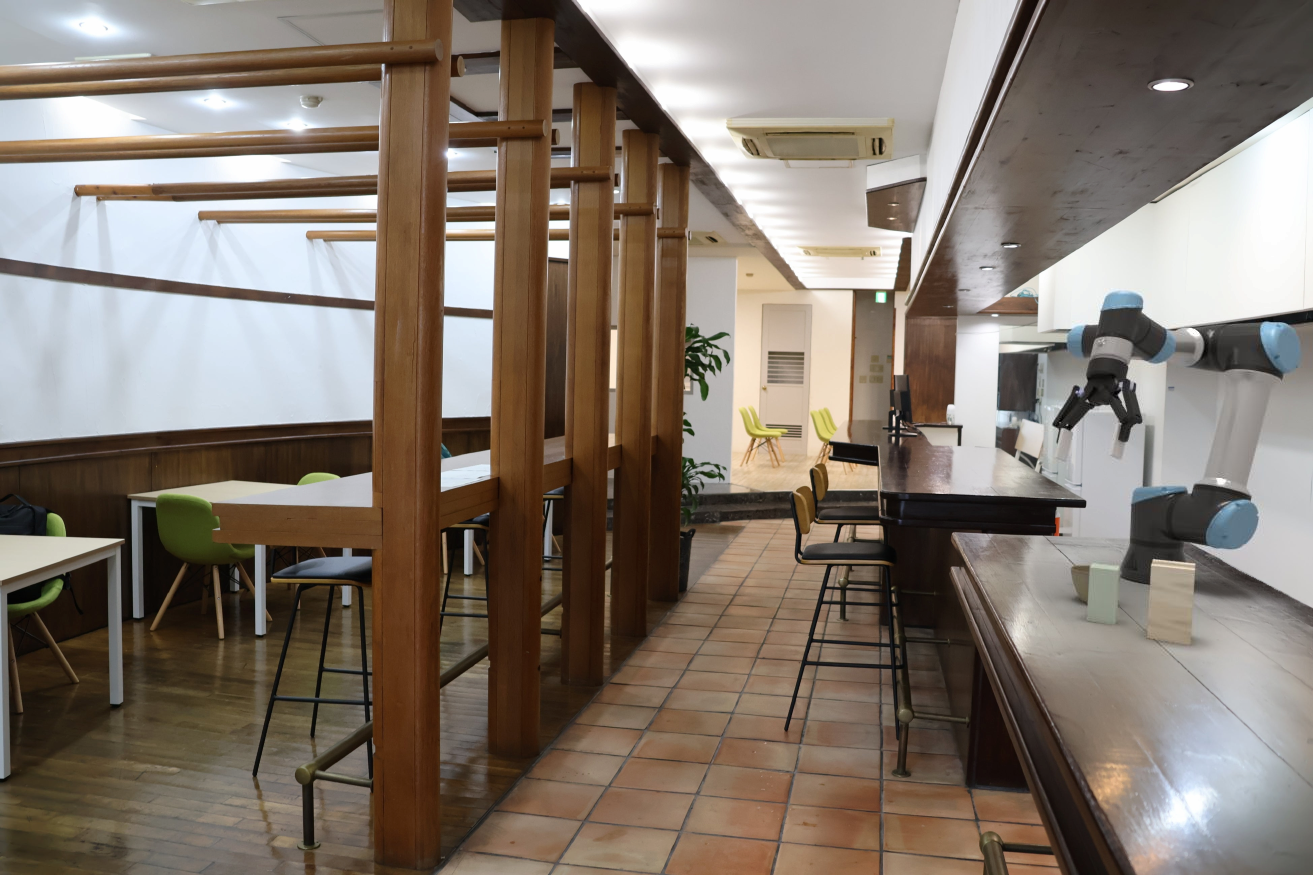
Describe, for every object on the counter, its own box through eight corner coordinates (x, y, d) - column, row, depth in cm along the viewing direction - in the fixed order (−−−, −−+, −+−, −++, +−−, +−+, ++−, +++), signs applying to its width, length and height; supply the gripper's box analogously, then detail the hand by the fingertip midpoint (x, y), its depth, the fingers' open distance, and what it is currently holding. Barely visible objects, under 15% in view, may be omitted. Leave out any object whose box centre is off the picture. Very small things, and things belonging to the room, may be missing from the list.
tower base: (1149, 630, 172) (1151, 594, 172) (1191, 636, 169) (1193, 599, 168) (1147, 638, 166) (1149, 602, 166) (1190, 645, 163) (1192, 607, 162)
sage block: (1089, 615, 182) (1092, 562, 182) (1116, 619, 180) (1119, 565, 179) (1086, 620, 178) (1089, 567, 177) (1114, 624, 175) (1117, 570, 175)
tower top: (1151, 594, 172) (1153, 559, 171) (1193, 599, 168) (1195, 563, 168) (1149, 602, 166) (1151, 565, 165) (1192, 607, 162) (1194, 570, 162)
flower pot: (1126, 608, 188) (1127, 575, 188) (1075, 605, 190) (1077, 572, 190) (1111, 597, 198) (1113, 566, 197) (1064, 594, 200) (1065, 563, 199)
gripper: (1049, 363, 195) (1026, 454, 191) (1149, 346, 172) (1126, 449, 168) (1073, 376, 197) (1052, 465, 194) (1176, 361, 174) (1153, 462, 170)
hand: (1086, 458), depth 181 cm, fingers open, 13 cm apart
